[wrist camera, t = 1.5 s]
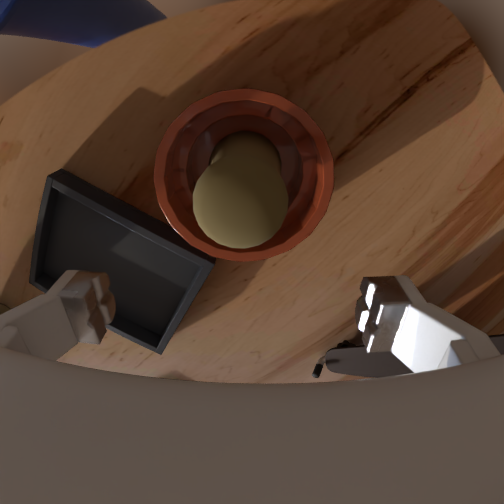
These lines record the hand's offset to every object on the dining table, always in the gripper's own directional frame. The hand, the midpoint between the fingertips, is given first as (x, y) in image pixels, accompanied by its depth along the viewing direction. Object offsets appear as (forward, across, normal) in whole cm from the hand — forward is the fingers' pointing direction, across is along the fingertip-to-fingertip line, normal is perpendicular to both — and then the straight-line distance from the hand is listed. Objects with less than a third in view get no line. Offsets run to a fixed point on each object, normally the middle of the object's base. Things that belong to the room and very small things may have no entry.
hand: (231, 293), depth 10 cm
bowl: (+18, 0, 0) cm, 18 cm away
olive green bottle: (+18, 0, 0) cm, 18 cm away
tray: (+18, +14, +9) cm, 24 cm away
